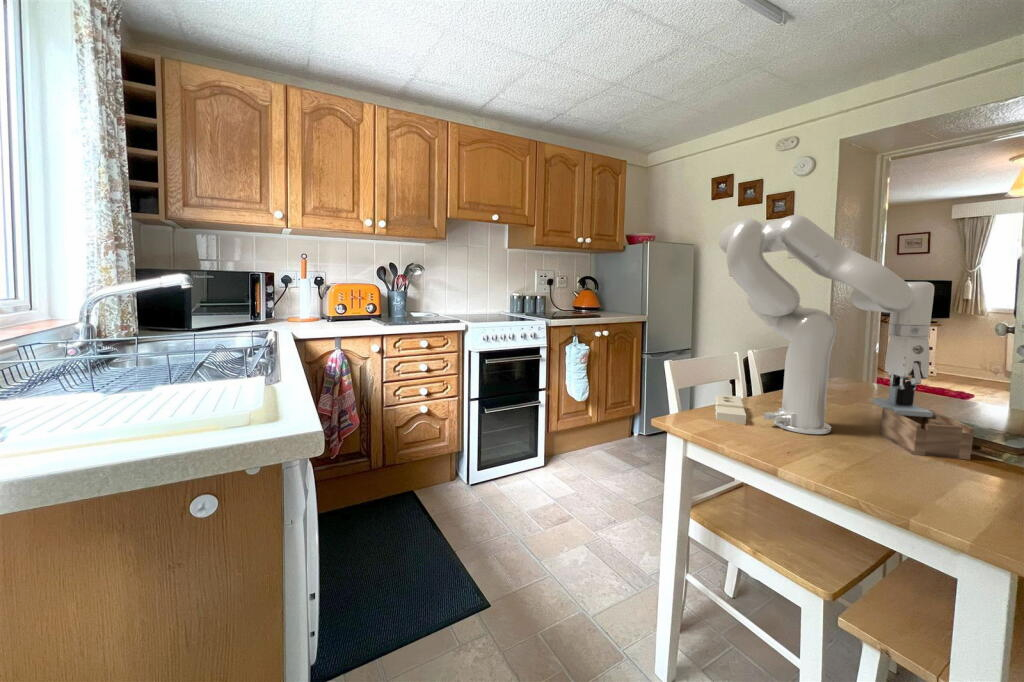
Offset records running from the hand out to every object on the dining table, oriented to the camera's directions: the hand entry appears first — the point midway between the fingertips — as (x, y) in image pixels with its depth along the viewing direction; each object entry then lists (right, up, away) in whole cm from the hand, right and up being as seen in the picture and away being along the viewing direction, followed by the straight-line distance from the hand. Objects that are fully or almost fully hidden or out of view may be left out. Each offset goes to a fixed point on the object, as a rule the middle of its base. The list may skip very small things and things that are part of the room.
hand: (900, 402), depth 109 cm
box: (-3, -9, -8) cm, 13 cm away
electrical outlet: (-35, -6, +17) cm, 40 cm away
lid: (0, -2, 0) cm, 2 cm away
